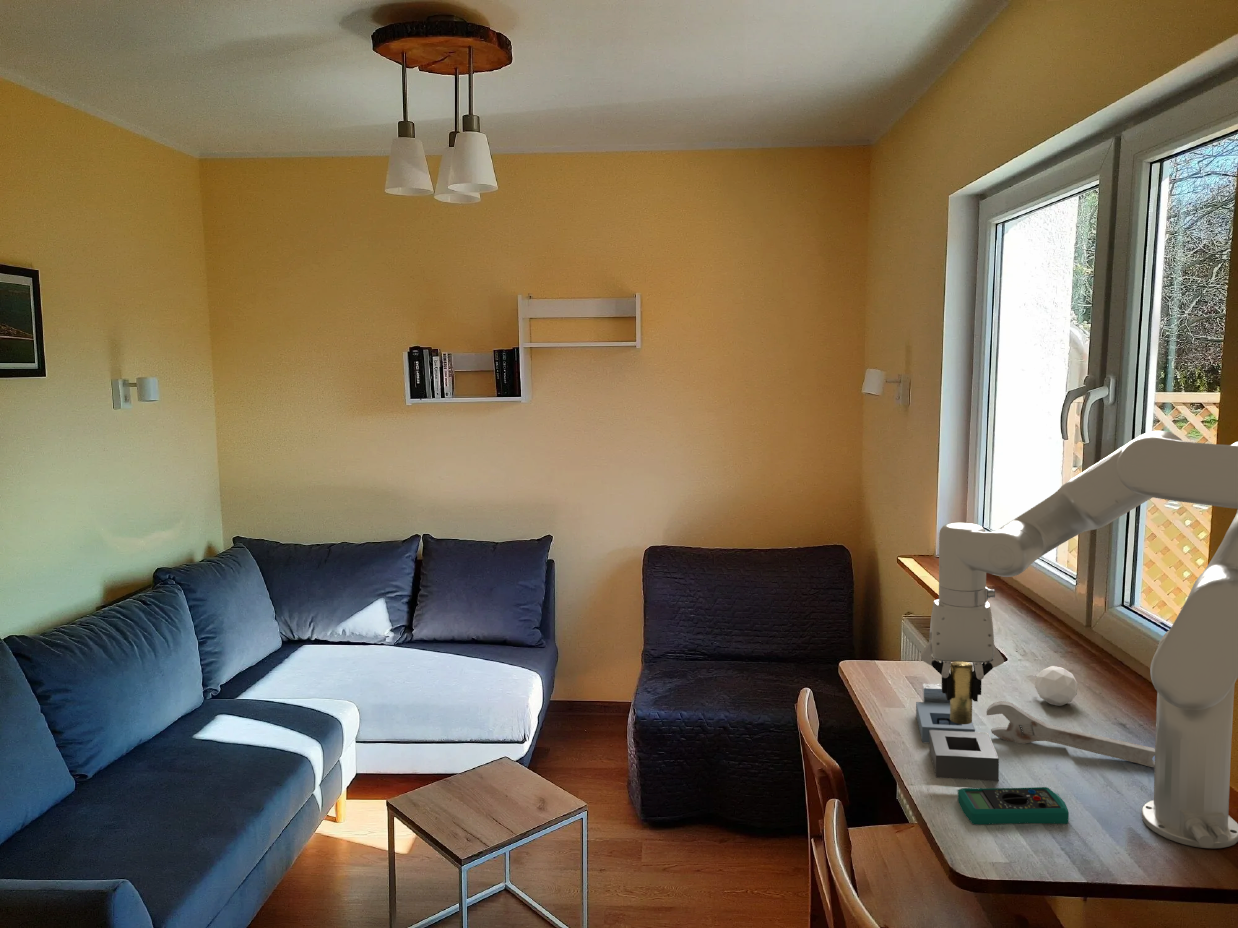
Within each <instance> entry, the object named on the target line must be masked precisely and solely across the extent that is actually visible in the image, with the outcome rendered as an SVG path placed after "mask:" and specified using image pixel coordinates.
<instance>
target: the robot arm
mask: <svg viewBox="0 0 1238 928" xmlns="http://www.w3.org/2000/svg"><path fill="white" fill-rule="evenodd" d="M1153 498H1155V499H1161V500H1167V501H1174V502H1179V503H1180V502H1181V503H1187V504H1188V503H1189V504H1196V505H1197V504H1198V505H1206V506H1211V507H1221V508H1229V509H1237V510H1236V514H1235V515H1234V516H1235V517H1234V518H1233V519H1232V522H1231V524H1230V525H1229V528H1228V529H1227V530H1226V532H1225V535H1224V537H1223V539H1222V540H1221V542H1220V545H1219V546H1218V548H1217V550H1216V552H1215V553H1214V555H1213V556H1212V558H1211V560H1210V562H1208V564H1207V566H1206V568H1205V569H1204V570H1203V571H1202V573H1201V574H1200V575H1199V576H1198V577H1197V579H1196V580H1195V581H1194V583H1193V585H1192V587H1191V589H1190V592H1189V594H1188V596H1187V598H1186V600H1185V602H1184V604H1183V606H1182V608H1181V609H1180V611H1179V613H1178V615H1177V616H1176V618H1175V620H1174V621H1173V624H1172V625H1171V627H1170V628H1169V630H1167V631H1166V632H1165V633H1164V634H1163V636H1162V637H1161V638H1160V640H1159V643H1158V645H1157V647H1156V650H1155V652H1154V655H1153V657H1152V660H1151V663H1150V670H1149V671H1150V673H1149V674H1150V678H1151V682H1152V685H1153V687H1154V689H1155V690H1156V692H1157V693H1156V694H1157V695H1156V712H1155V713H1156V714H1155V738H1154V739H1155V744H1154V745H1155V746H1154V748H1155V756H1154V762H1155V767H1154V780H1153V781H1154V782H1153V789H1154V790H1153V800H1150V801H1148V802H1146V803H1144V804H1143V806H1142V808H1141V819H1142V821H1143V823H1144V824H1145V825H1146V827H1148V828H1149V829H1150V830H1152V831H1153V832H1154V833H1156V834H1157V835H1159V836H1161V837H1163V838H1165V839H1167V840H1171V841H1173V842H1175V843H1180V844H1182V845H1185V846H1189V847H1194V848H1201V849H1223V848H1229V847H1231V846H1234V845H1236V844H1237V843H1238V822H1237V821H1236V820H1235V819H1233V818H1232V817H1231V816H1230V815H1229V811H1230V809H1229V807H1230V785H1231V784H1230V779H1231V756H1232V755H1231V754H1232V753H1231V752H1232V737H1233V717H1234V716H1233V715H1234V701H1235V700H1234V699H1235V698H1234V696H1235V686H1236V685H1235V683H1236V682H1237V680H1238V441H1235V442H1234V443H1232V444H1217V443H1216V444H1215V443H1205V442H1194V441H1185V440H1183V439H1182V438H1180V437H1179V436H1178V435H1176V434H1174V433H1172V432H1170V431H1165V430H1152V431H1148V432H1145V433H1142V434H1140V435H1138V436H1137V437H1135V438H1133V439H1132V440H1130V441H1129V442H1127V443H1126V444H1124V445H1122V446H1121V447H1119V448H1118V449H1116V450H1115V451H1113V452H1112V453H1110V454H1108V455H1107V456H1106V457H1104V458H1103V459H1100V460H1099V461H1098V462H1096V463H1095V464H1093V465H1091V466H1089V467H1088V468H1087V469H1085V470H1083V471H1082V472H1080V473H1078V474H1077V475H1076V476H1074V477H1072V478H1071V479H1069V480H1068V481H1067V482H1065V483H1064V484H1063V485H1061V486H1060V487H1059V489H1058V490H1057V491H1055V492H1054V493H1053V494H1052V495H1050V496H1049V497H1047V498H1045V499H1044V500H1042V501H1041V502H1039V503H1038V504H1036V505H1035V506H1033V507H1032V508H1030V509H1028V510H1027V511H1025V512H1023V513H1022V514H1020V515H1019V516H1017V517H1015V518H1014V519H1012V520H1011V521H1009V522H1007V523H1006V524H1005V525H1002V526H1001V527H1000V528H998V529H996V530H993V531H986V529H985V528H984V527H983V526H982V525H979V524H975V523H968V522H951V523H948V524H945V525H943V526H942V527H941V528H940V530H939V535H938V536H939V537H938V539H939V540H938V557H939V558H938V598H937V599H935V600H933V604H932V609H931V615H930V625H929V626H930V628H929V641H928V643H927V644H926V645H925V647H924V648H923V650H922V651H921V653H920V654H919V657H920V660H921V661H923V662H924V663H926V664H927V665H929V666H931V667H932V668H933V669H934V670H936V672H937V673H939V674H940V675H941V684H942V693H945V695H946V698H947V700H952V678H951V676H950V666H951V663H952V662H956V661H957V662H967V663H972V665H973V678H972V702H976V703H977V702H978V700H979V699H978V697H979V696H982V680H983V679H984V678H985V676H986V675H987V674H988V673H990V672H991V671H992V670H993V669H994V668H997V667H999V666H1001V665H1002V664H1004V663H1005V660H1004V657H1003V656H1002V654H1001V652H1000V651H999V650H998V648H997V647H996V645H995V636H994V635H995V634H994V624H993V623H994V621H993V614H992V610H991V606H990V605H991V604H990V602H988V600H989V599H991V598H993V599H995V597H996V590H995V589H990V588H988V587H987V574H990V575H994V576H999V577H1002V578H1003V577H1004V578H1011V577H1016V576H1019V575H1020V574H1023V572H1025V571H1026V570H1027V569H1028V568H1029V567H1030V566H1031V565H1032V564H1033V563H1035V562H1036V560H1038V559H1040V558H1041V557H1043V556H1044V555H1046V554H1047V553H1049V552H1051V551H1052V550H1054V549H1056V548H1058V547H1059V546H1061V545H1062V544H1064V543H1066V542H1068V541H1070V540H1071V539H1073V538H1075V537H1076V536H1077V537H1078V536H1079V535H1080V534H1083V533H1084V532H1087V531H1093V530H1099V529H1101V528H1103V527H1106V526H1107V525H1109V524H1111V523H1112V522H1114V521H1115V520H1117V519H1119V518H1121V517H1122V516H1124V515H1125V514H1127V513H1129V512H1131V511H1133V510H1134V509H1136V508H1137V507H1139V506H1140V505H1142V504H1144V503H1146V502H1148V501H1149V500H1151V499H1153Z"/></svg>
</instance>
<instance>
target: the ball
mask: <svg viewBox="0 0 1238 928" xmlns="http://www.w3.org/2000/svg"><path fill="white" fill-rule="evenodd" d="M1034 685H1035V686H1034V688H1035V690H1036V692H1037V694H1038V696H1039V697H1040V699H1042V700H1044V701H1045V702H1047V703H1048V704H1050V705H1054V706H1059V707H1061V706H1064V705H1066V704H1068V703H1071V702H1072V701H1073V700H1074V699H1075V697H1076V695H1077V694H1078V686H1079V684H1078V681H1077V680H1076V678H1075V676H1074V674H1073V673H1072V672H1070V671H1069V670H1067V669H1065V668H1063V667H1060V666H1056V665H1051V666H1048V667H1046V668H1044V669H1042V670H1041V671H1039V673H1038V674H1037V675H1036V677H1035V683H1034Z"/></svg>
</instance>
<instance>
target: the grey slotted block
mask: <svg viewBox="0 0 1238 928" xmlns="http://www.w3.org/2000/svg"><path fill="white" fill-rule="evenodd" d="M929 754H930V758H931V762H932V766H933V770H934V774H935V778H939V779H954V780H955V779H956V780H969V781H970V780H973V781H989V782H999V781H1000V777H999V776H1000V773H999V772H1000V771H999V769H1000V765H999V764H1000V761H999V760H1000V759H999V756H998V753H997V750H996V748H995V746H994V744H993V741H992V739H991V736H990V734H989V732H979V731H975V732H963V731H942V730H929Z"/></svg>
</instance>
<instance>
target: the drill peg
mask: <svg viewBox="0 0 1238 928" xmlns="http://www.w3.org/2000/svg"><path fill="white" fill-rule="evenodd" d="M973 671H974V668H973V663H971V662H957V661H951V666H950V671H949V672H950V676H951V678H952V700H950V720H951V721H952V722H954V723H957V724H970V723H971V722H972V723H973V699H972V678H973Z"/></svg>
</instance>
